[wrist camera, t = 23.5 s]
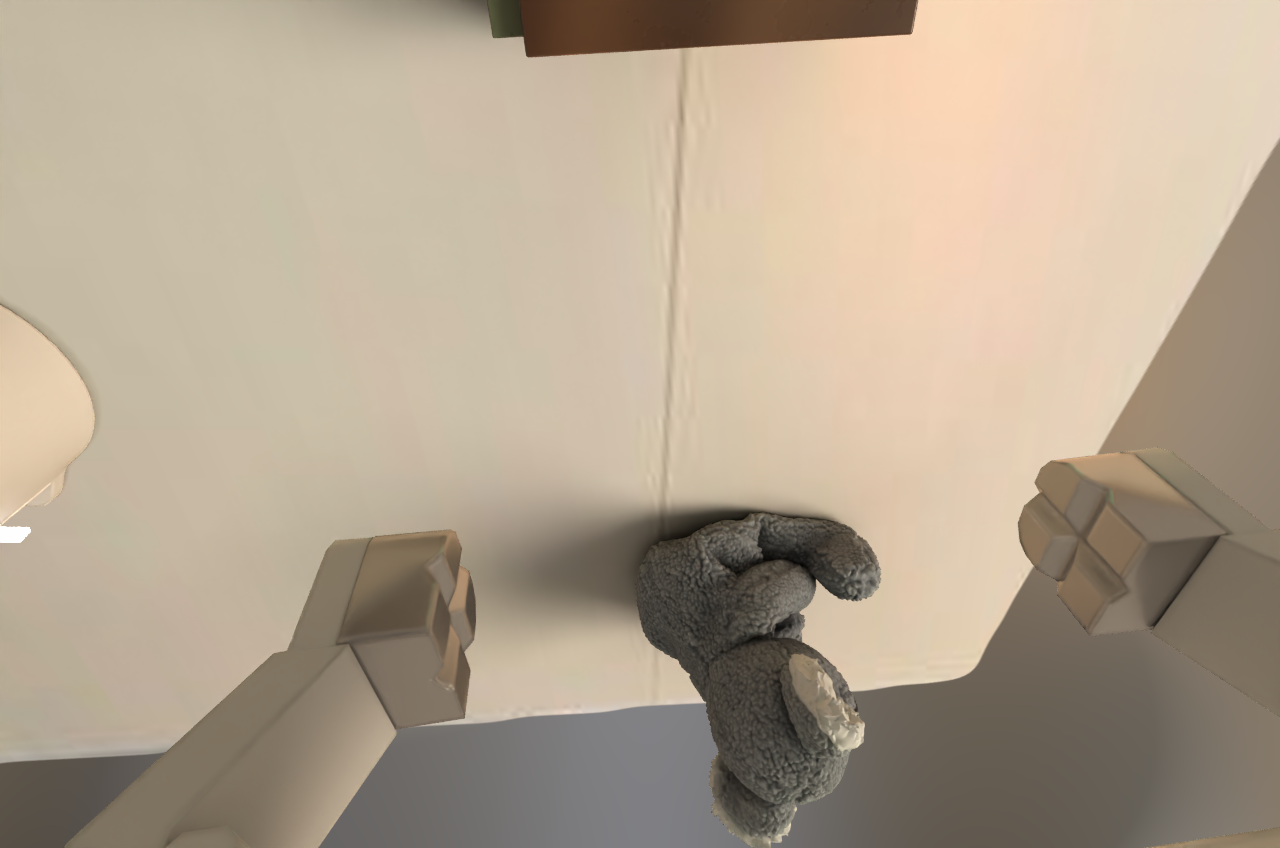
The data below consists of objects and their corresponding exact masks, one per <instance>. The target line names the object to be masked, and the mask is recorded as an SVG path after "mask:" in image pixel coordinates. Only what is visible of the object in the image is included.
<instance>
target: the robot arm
mask: <svg viewBox="0 0 1280 848" xmlns="http://www.w3.org/2000/svg"><path fill="white" fill-rule="evenodd" d="M94 425H95V414H94V408H93V404H92V400H91V397H90V394H89V392H88V390H87V388H86V386H85V384H84V382H83V380H82V378H81V377H80V375H79V374H78V372H77V371H76V369H75V368H74V367H73V365H72V364H71V363H70V361H69V360H68V359H67V358H66V357H65V356H64V354H63V353H62V352H61V351H60V350H59V349H58V348H57V347H56V346H55V345H54V344H53V343H52V342H51V341H50V340H49V339H48V338H46V337H45V336H44V335H43V334H42V333H41V332H39V331H38V330H37V329H36V328H35V327H33V326H32V325H30V324H29V323H28V322H26V321H25V320H24V319H22V318H21V317H19V316H18V315H16V314H15V313H13V312H12V311H10V310H9V309H7V308H5V307H4V306H2V305H0V526H1V525H2V524H3V523H5V522H6V521H7V520H8V519H9V518H11V517H12V516H13V515H14V514H15V513H17V512H18V511H19V510H20V509H21V508H23V507H24V506H44V505H46V504H48V503H50V502H51V501H52V500H53V499H55V498H56V497H57V496H58V495H59V494H60V493H61V491H62V489H63V485H64V478H65V470H66V468H67V467H68V465H69V464H70V463H71V462H72V461H73V460H74V459H76V458H77V457H78V456H79V455H80V454H81V453H82V452H83V451H84V450H85V448H86V447H87V446H88V444H89V442H90V440H91V438H92V435H93V431H94ZM1035 484H1036V486H1037V488H1038V490H1039V492H1040V493H1039V494H1038V495H1036V496H1035V497H1034V498H1033V499H1032V500H1030V501H1029V502H1028V503H1027V504H1026V505H1024V508H1023V510H1022V513H1021V516H1020V518H1019V521H1018V529H1019V539H1020V543H1021V545H1022V547H1023V550H1024V552H1025V554H1026V556H1027V557H1028V559H1029V560H1030V561H1031V563H1032V564H1033V565H1034V566H1035V568H1036V569H1037V570H1039V571H1040V572H1042V573H1044V574H1046V575H1047V576H1049V577H1051V578H1053V579H1055V580H1056V581H1058V592H1057V596H1058V597H1059V598H1060V599H1061V601H1062V602H1063V603H1064V604H1065V605H1066V607H1067V608H1068V609H1069V611H1070V612H1071V613H1072V614H1073V616H1074V617H1075V618H1076V619H1077V620H1078V622H1079V623H1080V624H1081V625H1082V627H1083V628H1084V629H1085V630H1086V632H1087V633H1088V634H1089V635H1090V636H1094V635H1104V634H1114V633H1123V632H1133V631H1143V630H1152V629H1153V630H1152V632H1151V633H1152V634H1153V635H1155V636H1156V637H1158V638H1159V639H1161V640H1162V641H1164V642H1166V643H1167V644H1169V645H1170V646H1172V647H1173V648H1175V649H1176V650H1178V651H1179V652H1181V653H1182V654H1184V655H1185V656H1187V657H1188V658H1190V659H1191V660H1193V661H1194V662H1196V663H1198V664H1199V665H1201V666H1202V667H1204V668H1205V669H1207V670H1208V671H1210V672H1211V673H1213V674H1214V675H1216V676H1218V677H1219V678H1220V679H1222V680H1224V681H1225V682H1226V683H1228V684H1230V685H1231V686H1233V687H1234V688H1236V689H1237V690H1239V691H1240V692H1242V693H1243V694H1245V695H1246V696H1248V697H1250V698H1251V699H1252V700H1254V701H1255V702H1257V703H1258V704H1260V705H1261V706H1263V707H1265V708H1266V709H1268V710H1269V711H1271V712H1272V713H1274V714H1275V715H1277V716H1279V717H1280V529H1275V530H1271V529H1270V528H1268V527H1267V526H1266V525H1265V524H1263V523H1262V522H1261V521H1260V520H1258V519H1257V518H1256V517H1254V516H1253V515H1252V514H1251V513H1249V512H1248V511H1247V510H1245V509H1244V508H1243V507H1242V506H1240V505H1239V504H1238V503H1237V502H1235V501H1234V500H1232V499H1231V498H1230V497H1229V496H1228V495H1226V494H1225V493H1224V492H1223V491H1221V490H1220V489H1219V488H1218V487H1216V486H1215V485H1214V484H1212V483H1211V482H1210V481H1209V480H1207V479H1206V478H1205V477H1204V476H1202V475H1201V474H1200V473H1198V472H1197V471H1196V470H1194V469H1193V468H1192V467H1191V466H1189V465H1188V464H1187V463H1186V462H1184V461H1183V460H1182V459H1181V458H1179V457H1178V456H1176V454H1174V453H1172V452H1169V451H1167V450H1164V449H1162V448H1158V447H1157V448H1149V449H1141V450H1133V451H1125V452H1120V453H1110V454H1101V455H1093V456H1085V457H1077V458H1069V459H1061V460H1053V461H1050V462H1049V463H1047V464H1046V465H1045V466H1044V467H1042V468H1041V469H1040V472H1039V474H1038V476H1037V478H1036V480H1035ZM30 531H31V530H30V529H29V527H0V542H21V541H22V540H23V539H24V538H25V537H26V536H27V535H28V533H29V532H30ZM461 551H462V548H461V545H460V542H459V539H458V537H457V534H456V532H455V531H453V530H440V531H428V532H417V533H406V534H395V535H384V536H375V537H372V538H360V539H348V540H336V541H334V542H333V544H332V545H331V546H330V547H329V548H328V549H327V550H326V552H325V554H324V557H323V560H322V562H321V565H320V567H319V570H318V572H317V575H316V578H315V580H314V583H313V585H312V588H311V590H310V593H309V596H308V598H307V601H306V603H305V606H304V608H303V611H302V614H301V616H300V619H299V621H298V624H297V626H296V629H295V632H294V634H293V637H292V639H291V642H290V644H289V647H288V650H287V651H284V652H278V653H274V654H272V655H271V656H270V657H269V658H268V659H267V660H266V661H265V662H264V663H263V664H262V665H260V666H259V667H258V668H257V669H256V670H255V671H254V672H253V673H252V674H251V675H250V676H248V677H247V678H246V679H245V680H244V681H243V682H242V683H241V684H240V685H239V686H238V687H237V688H235V689H234V690H233V691H232V692H231V693H230V694H229V695H228V696H227V697H226V698H225V699H223V700H222V701H221V702H220V703H219V704H218V705H217V706H216V707H215V708H214V709H213V710H211V711H210V712H209V713H208V714H207V715H206V716H205V717H204V718H203V719H202V720H201V721H199V722H198V723H197V724H196V725H195V726H194V727H193V728H192V729H191V730H190V731H189V732H187V733H186V734H185V735H184V736H183V737H182V738H181V739H180V740H179V741H178V742H177V743H176V744H174V745H173V746H172V747H171V748H170V749H169V750H168V751H167V752H166V753H165V754H164V755H163V756H161V757H160V758H159V759H158V760H157V761H156V762H155V763H154V764H153V765H152V766H150V768H148V769H147V770H146V771H145V772H144V773H143V774H142V775H141V776H140V777H138V779H136V780H135V781H134V782H133V783H132V784H131V785H130V786H129V787H128V788H126V790H125V791H123V792H122V793H121V794H120V795H119V796H118V797H117V798H116V799H115V800H113V801H112V802H111V803H110V804H109V805H108V806H107V807H106V808H105V809H104V810H103V811H101V812H100V813H99V814H98V815H97V816H96V817H95V818H94V819H93V820H92V821H91V822H89V823H88V824H87V825H86V826H85V827H84V828H83V829H82V830H81V831H80V832H79V833H78V834H76V835H75V836H74V837H73V838H72V839H71V840H70V841H69V842H68V843H67V844H66V846H65V848H318V847H319V845H320V844H321V843H322V841H323V840H324V838H325V837H326V836H327V834H328V833H329V831H330V830H331V828H332V827H333V825H334V824H335V822H336V821H337V820H338V818H339V816H340V815H341V814H342V812H343V811H344V810H345V808H346V806H347V805H348V804H349V802H350V801H351V799H352V798H353V796H354V795H355V794H356V792H357V791H358V789H359V788H360V786H361V785H362V784H363V782H364V781H365V779H366V778H367V776H368V775H369V773H370V772H371V770H372V769H373V767H374V766H375V765H376V763H377V762H378V760H379V759H380V757H381V756H382V755H383V753H384V752H385V750H386V749H387V747H388V746H389V744H390V743H391V742H392V740H393V739H394V737H395V736H396V734H397V732H396V730H395V729H401V728H407V727H414V726H420V725H426V724H432V723H439V722H445V721H451V720H458V719H464V718H465V711H466V703H467V695H468V687H469V678H470V667H469V665H468V662H467V659H466V656H465V653H464V651H465V650H466V649H467V648H468V647H469V645H470V644H471V643H472V642H473V641H474V635H475V625H476V604H475V594H474V588H473V583H472V579H471V576H470V573H469V571H468V570H466V569H465V568H463V567H462V566H460V558H461ZM1147 848H1280V827H1277V828H1270V829H1264V830H1257V831H1251V832H1244V833H1238V834H1232V835H1225V836H1219V837H1213V838H1205V839H1200V840H1193V841H1186V842H1180V843H1173V844H1167V845H1160V846H1154V847H1147Z"/></svg>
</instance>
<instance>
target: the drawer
mask: <svg viewBox="0 0 1280 848" xmlns="http://www.w3.org/2000/svg"><path fill="white" fill-rule="evenodd" d="M487 4H488V10H489V17H490V23H491V29H492V36H493V38H506V37H524V36H523V28H522V21H521V13H520V5H519V0H487Z"/></svg>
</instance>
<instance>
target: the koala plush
mask: <svg viewBox="0 0 1280 848" xmlns="http://www.w3.org/2000/svg"><path fill="white" fill-rule="evenodd" d="M880 570H881V569H880V567H879V563H878V560H877V557H876V555H875V553H874V552H873V551H872V548H871V547H870V546H869V544H868V542H867V541H866V540H864V539H863V538H861V537H860V536H857V533H856V532H855V531H854V530H853V529H852V528H850V527H847V525H843V524H840V523H838V522H829V520H828V521H826V520H825V521H824V520H822V521H821V520H815V519H811V520H810V519H808V518H806V519H803V518H796V519H793V518H787V517H782V516H779V515H776V514H774V515H771V514H770V513H764V512H762V513H754V514H751V513H750V514H749V515H748V516H747V517H745V519H744V520H740V521H734V520H721V521H719V522H717V523H714V524H709V525H707V526H705V527H704V528H701V529H700V530H697V531H696V532H694V533H693V534H692V535H691V536H690V537H689V536H688V537H686V538H682V539H674V540H671V539H670V540H667V541H660V542H659V543H658V545H652V546H651V549H650V550H649V551H648V553H647V555H646V556H645V558H644V560H643V562H642V564H641V565H640V567H639V573H638V575H637V581H636V584H635V585H636V588H635V589H636V596H637V606H638V610H639V613H640V614H639V615H640V620H641V624H642V628H643V632H644V633H645V636H646V637H647V638H648V640H649V641H650V643H651V644H652V645H653V646H655V648H657V649H659V650H660V651H663V652H664V653H665V654H667V655H670V657H672V658H675V659H678V661H679V664H680V665H681V667H682V668H683V669H684V670H685V671H686V672H687V673H690V676H689V677H690V679H691V682H692V683H693V685H694V686H695V688H696V689H697V691H698V692H699V694H700V696H701V697H702V699H703V701H704V702H706V707H707V711H706V712H707V714H708V719H709V721H710V726H711V732H712V736H713V739H714V741H715V742H716V745H717V747H718V751H719V752H718V755H717V756H716V757H715V759H714V760H713V761H712V762H711V763H712V766H711V768H712V769H711V771H710V776H709V778H710V781H709V786H710V787H711V788H712V793H713V797H714V798H715V802H714V804H713V805H712V808H713V810H712V811H711V813H713V815H714V816H717V815H718V816H719V820H721V821H722V823H723V825H724V824H725V825H727V829H728V832H729V833H730V832H732V835H734V833H735V835H736V836H738V838H740V839H741V840H742V841H743V842H744V843H746V844H747V845H749V846H751V848H753V847H754V846H756V847H757V848H764V847H766V848H771V844H770V843H771V842H774V843H779V842H782V838H781V836H782V835H787V836H788V834H787V833H788V832H789V830H790V827H791V820H792V819H793V817H794V815H795V811H796V810H797V808H796V805H797V804H802V805H804V804H805V803H807V802H812V801H816V800H818V799H819V798H821V797H824V796H825V794H829V793H831V792H832V791H833V788H836V785H837V784H838V783H839V782H840V780H841V778H842V777H843V773H844V769H845V767H846V765H847V761H848V757H849V753H850V751H851V749H853V748H857V747H858V746H859V745H860V744H861V743H863V742H864V739H863V736H864V727H865V724H864V722H863V721H861V720H860V717H859V716H858V715H859V714H858V708H857V704H856V701H855V698H854V696H853V694H852V692H850V691H849V687H848V684H847V682H846V681H845V680H844V678H843V677H842V675H841V673H839V672H838V671H837V669H836V667H835V666H833V665H832V664H831V663H830V662H829V661H828V660H827V659H826V658H824V657H823V656H822V655H821V654H820V653H819V652H817V650H815V649H813V648H812V647H810V646H809V645H806V644H805V643H802V632H801V630H802V629H803V628H804V622H805V619H804V618H805V617H804V615H801V614H799V611H801V610H802V609H803V608H805V607H807V606H808V605H809V603H810V602H811V600H812V599H813V596H814V594H815V591H816V579H817V580H818V581H819V582H820V583H821V584H822V586H824V587H825V589H827V590H828V591H829V592H830V593H832V594H833V595H834V596H837V597H838V598H839V599H842V600H843V599H846V600H849V599H851V600H852V601H855V600H856V601H859V600H860V601H861V600H862V598H865V599H867V597H871V596H872V595H873V593H874V591H875V590H877V588H879V584H880V583H881V578H880V575H881V571H880Z"/></svg>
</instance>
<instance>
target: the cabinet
mask: <svg viewBox="0 0 1280 848" xmlns="http://www.w3.org/2000/svg"><path fill="white" fill-rule="evenodd" d="M917 4H918V0H519V5H520V13H521V21H522V28H523V36H524V44H525V51H526V56H527V57H545V56H561V55H578V54H595V53H611V52H628V51H644V50H661V49H678V48H694V47H711V46H728V45H744V44H761V43H778V42H794V41H811V40H827V39H844V38H861V37H877V36H894V35H910V34H912V32H913V26H914V21H915V15H916V10H917Z"/></svg>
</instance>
